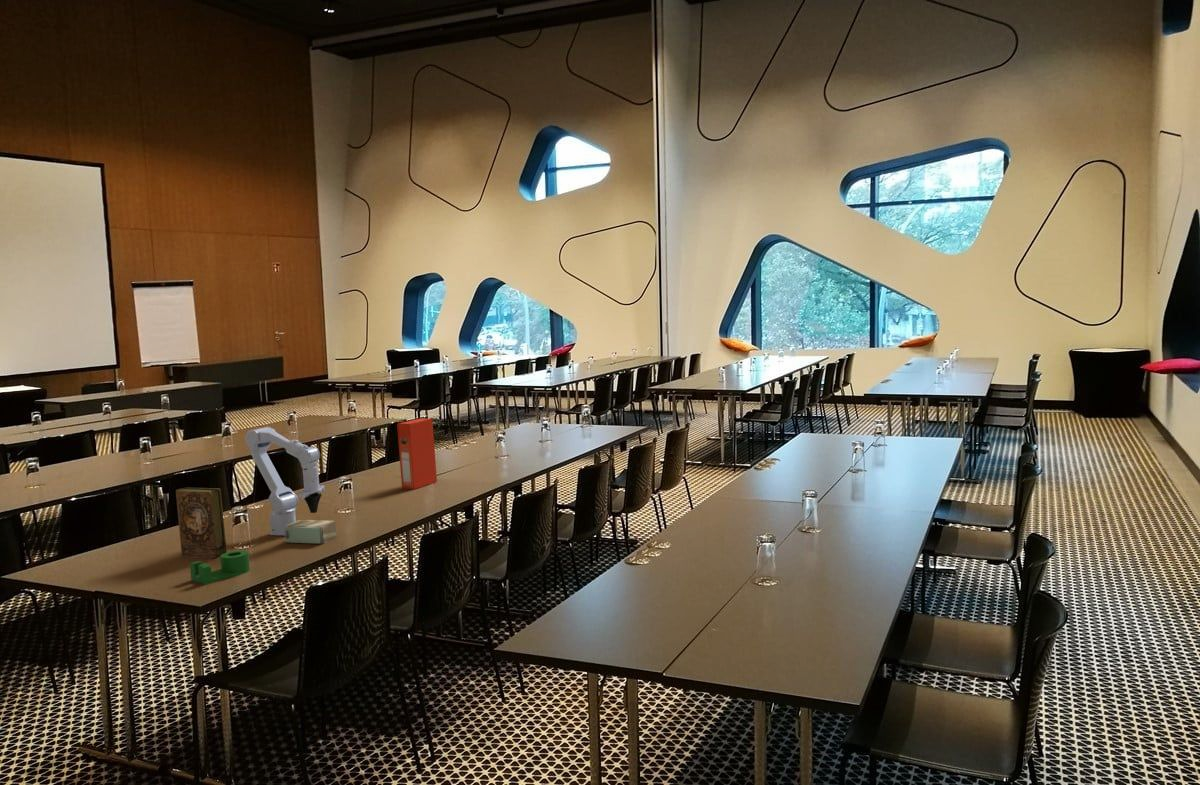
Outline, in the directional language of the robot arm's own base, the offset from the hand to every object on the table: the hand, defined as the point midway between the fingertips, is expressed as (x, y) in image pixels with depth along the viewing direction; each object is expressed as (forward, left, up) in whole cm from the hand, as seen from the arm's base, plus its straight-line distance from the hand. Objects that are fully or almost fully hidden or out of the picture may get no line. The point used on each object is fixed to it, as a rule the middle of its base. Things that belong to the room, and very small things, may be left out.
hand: (313, 512), depth 348 cm
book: (-28, -30, -10) cm, 42 cm away
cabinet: (+2, -5, -9) cm, 11 cm away
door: (+2, -11, -9) cm, 14 cm away
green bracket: (-4, -49, -10) cm, 50 cm away
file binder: (+1, +90, -10) cm, 91 cm away
